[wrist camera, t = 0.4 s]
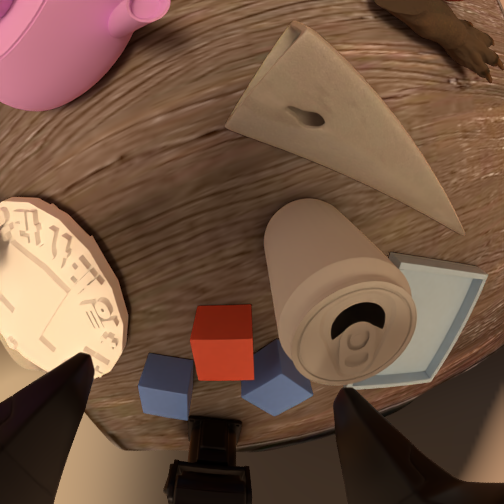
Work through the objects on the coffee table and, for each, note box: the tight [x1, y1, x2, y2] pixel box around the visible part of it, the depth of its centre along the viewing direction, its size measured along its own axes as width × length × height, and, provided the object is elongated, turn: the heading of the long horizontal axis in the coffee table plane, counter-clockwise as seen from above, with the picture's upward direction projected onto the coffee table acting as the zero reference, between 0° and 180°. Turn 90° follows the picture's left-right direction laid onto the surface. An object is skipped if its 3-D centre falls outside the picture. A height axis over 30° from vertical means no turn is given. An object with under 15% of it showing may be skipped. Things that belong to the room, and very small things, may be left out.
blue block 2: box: [241, 339, 313, 416], centre depth 25 cm, size 4×4×4 cm
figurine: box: [374, 0, 504, 83], centre depth 13 cm, size 6×4×12 cm
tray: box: [343, 252, 488, 390], centre depth 25 cm, size 15×12×2 cm
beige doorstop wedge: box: [224, 20, 466, 235], centre depth 18 cm, size 10×8×22 cm
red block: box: [190, 304, 254, 381], centre depth 23 cm, size 4×4×4 cm
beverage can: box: [264, 198, 417, 386], centre depth 16 cm, size 6×6×12 cm
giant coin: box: [0, 197, 128, 379], centre depth 22 cm, size 20×20×3 cm
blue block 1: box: [138, 353, 193, 421], centre depth 25 cm, size 4×4×4 cm
